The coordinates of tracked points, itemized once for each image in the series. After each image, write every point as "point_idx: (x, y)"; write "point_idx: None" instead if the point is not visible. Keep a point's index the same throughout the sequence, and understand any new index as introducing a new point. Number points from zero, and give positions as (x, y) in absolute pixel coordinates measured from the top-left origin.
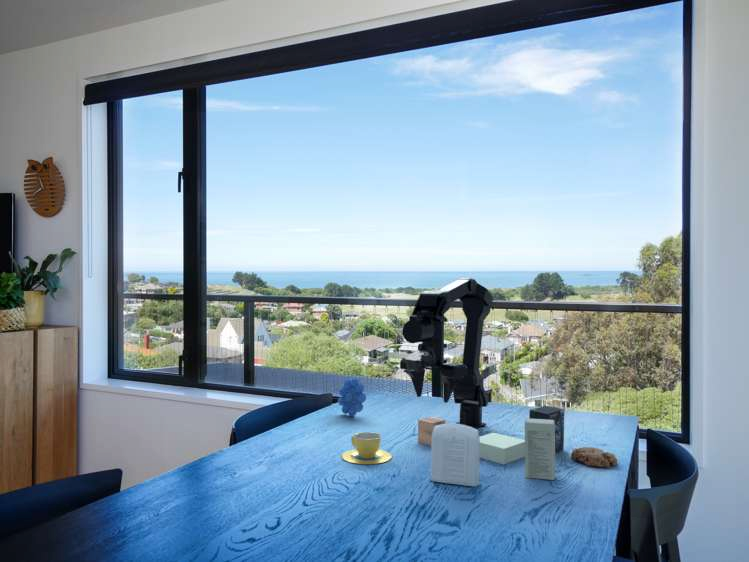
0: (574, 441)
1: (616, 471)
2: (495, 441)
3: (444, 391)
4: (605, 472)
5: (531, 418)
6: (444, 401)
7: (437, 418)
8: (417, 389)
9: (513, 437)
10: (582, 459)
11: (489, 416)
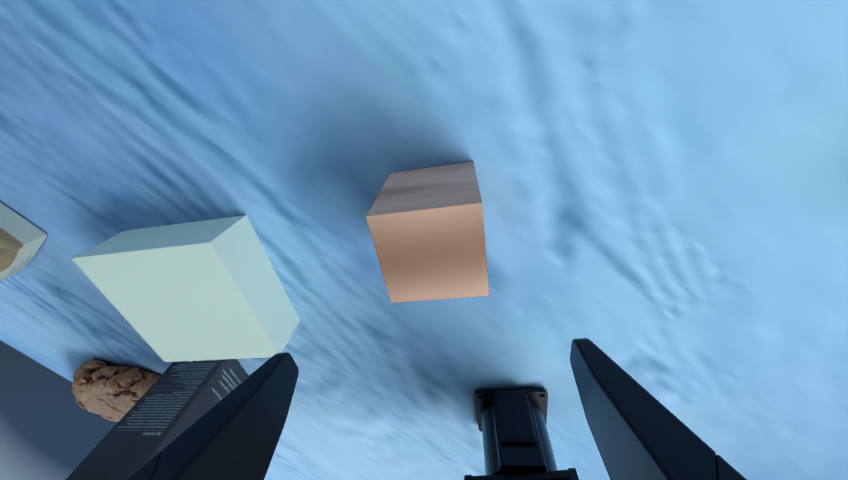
0: None
1: (62, 370)
2: (170, 295)
3: (196, 438)
4: (53, 353)
5: (147, 448)
6: (277, 357)
7: (436, 294)
8: (608, 399)
9: (207, 359)
10: (102, 370)
11: None
